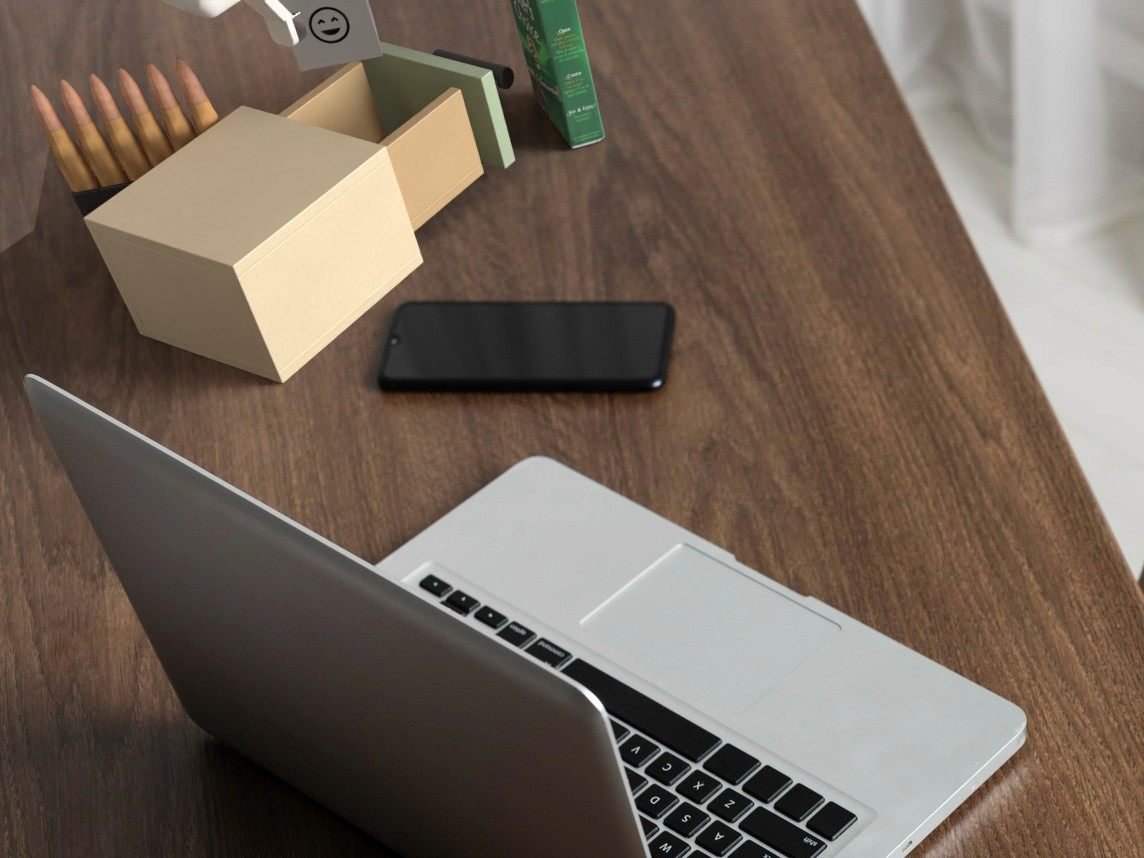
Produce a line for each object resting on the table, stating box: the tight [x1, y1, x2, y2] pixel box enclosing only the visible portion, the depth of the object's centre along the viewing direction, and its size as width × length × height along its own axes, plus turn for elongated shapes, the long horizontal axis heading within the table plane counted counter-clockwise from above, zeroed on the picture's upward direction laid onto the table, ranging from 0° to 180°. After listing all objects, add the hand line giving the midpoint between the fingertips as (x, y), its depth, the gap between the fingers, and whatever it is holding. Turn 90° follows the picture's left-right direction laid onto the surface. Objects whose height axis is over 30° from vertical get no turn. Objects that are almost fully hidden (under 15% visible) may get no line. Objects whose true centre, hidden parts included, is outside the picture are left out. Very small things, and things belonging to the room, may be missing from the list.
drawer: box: [277, 40, 516, 233], centre depth 115 cm, size 17×10×7 cm, turn 154°
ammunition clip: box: [29, 56, 222, 263], centre depth 110 cm, size 11×2×12 cm, turn 104°
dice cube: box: [278, 0, 383, 72], centre depth 106 cm, size 5×5×5 cm
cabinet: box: [82, 104, 424, 384], centre depth 107 cm, size 14×12×9 cm
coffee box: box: [509, 0, 606, 149], centre depth 119 cm, size 8×3×13 cm, turn 29°
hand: (327, 16), depth 106 cm, fingers closed on dice cube, 5 cm apart
